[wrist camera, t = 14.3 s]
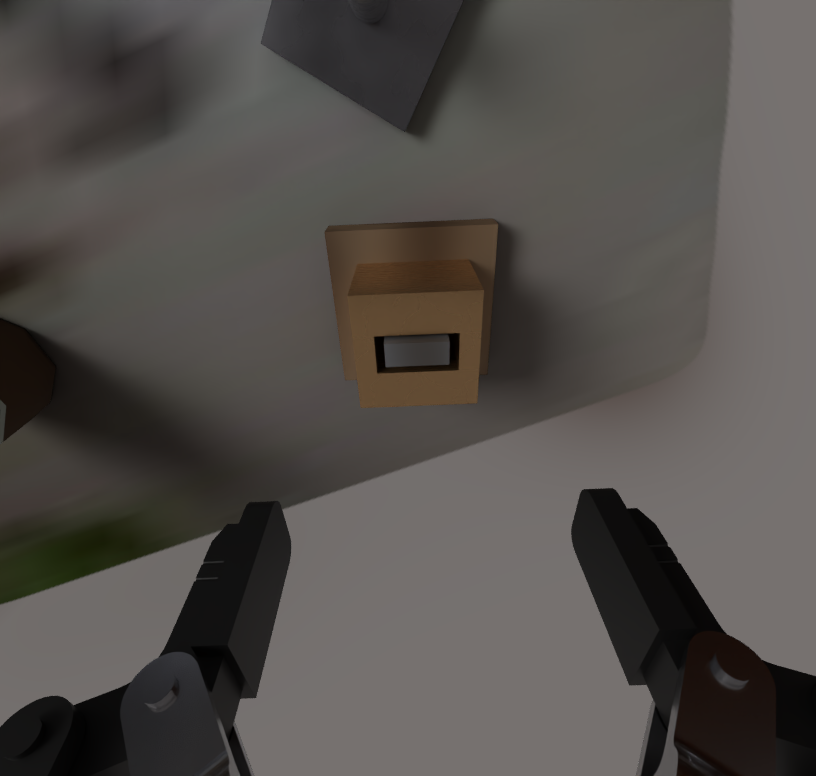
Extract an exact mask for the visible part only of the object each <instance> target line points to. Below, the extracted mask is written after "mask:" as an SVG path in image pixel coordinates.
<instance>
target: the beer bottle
mask: <svg viewBox="0 0 816 776" xmlns="http://www.w3.org/2000/svg"><path fill="white" fill-rule="evenodd" d="M55 370H56V366H55V365H54V364H53V362H52V361H51V360H50V359H49V357H48V356H47V355H46V354H45V353H44V351H43V350H42V349H41V348H40V347H39V345H38V344H37V343H36V342H35V340H34V339H33V338H32V337H31V336H30V334H29V333H28V332H27V331H26V330H25V329H23V328H21V327H18V326H16V325H14V324H11V323H9V322H6V321H4V320H1V319H0V444H1V443H2V442H3V441H5V440H6V439H7V438H8V437H10V436H11V435H12V434H14V433H15V432H16V431H17V430H19V429H20V428H21V427H22V426H24V425H25V424H26V423H27V422H29V421H30V420H31V419H32V418H33V417H35V416H36V415H37V414H38V413H39V412H40V411H41V410H42V409H43V408H44V407H45V406H47V405H48V404H49V403H50V400H51V396H52V390H53V383H54V377H55Z"/></svg>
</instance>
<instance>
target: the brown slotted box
mask: <svg viewBox="0 0 816 776" xmlns="http://www.w3.org/2000/svg"><path fill="white" fill-rule="evenodd" d="M347 298H348V306H349V315H350V323H351V331H352V339H353V348H354V356H355V364H356V373H357V381H358V389H359V397H360V406H361V408H373V407H398V406H422V405H447V404H472V403H477V399H478V382H479V365H480V348H481V331H482V314H483V298H484V289H483V287H482V285H481V283H480V281H479V279H478V277H477V275H476V273H475V271H474V269H473V267H472V265H471V263H470V261H469V259H459V260H436V261H413V262H390V263H367V264H357V266H356V270H355V273H354V276H353V279H352V282H351V286H350V289H349V292H348V295H347ZM445 333H448V337H449V341H450V350H449V365H426V366H402V367H386V365H385V352H384V337H385V336H397V335H421V334H445Z"/></svg>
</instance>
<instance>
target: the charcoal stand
mask: <svg viewBox="0 0 816 776" xmlns="http://www.w3.org/2000/svg"><path fill="white" fill-rule="evenodd" d="M462 2H463V0H272V3H271V6H270V10H269V14H268V18H267V21H266V25H265V29H264V33H263V36H262V40H261V44H262V45H264V46H266V47H267V48H269V49H271V50H272V51H274V52H275V53H277V54H279V55H280V56H282V57H284V58H285V59H287V60H288V61H290V62H292V63H293V64H295V65H297V66H298V67H300V68H301V69H303V70H305V71H306V72H308V73H310V74H311V75H313V76H314V77H316V78H318V79H319V80H321V81H323V82H324V83H326V84H327V85H329V86H331V87H332V88H334V89H336V90H337V91H339V92H340V93H342V94H344V95H345V96H347V97H349V98H350V99H352V100H353V101H355V102H357V103H358V104H360V105H362V106H363V107H365V108H367V109H368V110H370V111H371V112H373V113H375V114H376V115H378V116H380V117H381V118H383V119H384V120H386V121H388V122H389V123H391V124H393V125H394V126H396V127H397V128H399V129H401V130H402V131H404V132H405V130H406V128H407V126H408V124H409V121H410V119H411V117H412V115H413V112H414V110H415V108H416V106H417V103H418V101H419V99H420V97H421V94H422V92H423V90H424V88H425V85H426V83H427V81H428V79H429V76H430V74H431V72H432V70H433V68H434V65H435V63H436V61H437V59H438V56H439V54H440V52H441V50H442V47H443V45H444V43H445V41H446V38H447V36H448V34H449V32H450V29H451V27H452V25H453V23H454V20H455V18H456V16H457V14H458V11H459V9H460V7H461V5H462Z"/></svg>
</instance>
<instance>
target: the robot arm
mask: <svg viewBox="0 0 816 776" xmlns="http://www.w3.org/2000/svg"><path fill="white" fill-rule="evenodd" d="M571 535H572V542H573V547H574V550H575V553H576V555H577V558H578V560H579V563H580V565H581V567H582V570H583V572H584V575H585V577H586V580H587V582H588V584H589V587H590V589H591V592H592V595H593V597H594V599H595V602H596V604H597V607H598V609H599V612H600V614H601V617H602V619H603V622H604V624H605V626H606V629H607V631H608V634H609V636H610V639H611V641H612V644H613V646H614V649H615V651H616V653H617V656H618V658H619V661H620V663H621V666H622V668H623V670H624V673H625V676H626V678H627V681H628V683H629V685H647V686H648V688H649V691H650V693H651V695H652V698H653V701H652V704H651V707H650V712H649V717H648V721H647V726H646V731H645V736H644V740H643V745H642V750H641V754H640V759H639V764H638V768H637V773H636V776H816V676H813V675H809V674H806V673H802V672H798V671H795V670H792V669H788V668H784V667H781V666H777V665H774V664H771V663H768V662H766V661H763V660H761V658H760V657H759V656H758V655H757V654H756V653H755V652H754V651H752V650H751V649H750V648H749V647H748V646H746V645H745V644H743V643H742V642H741V641H739V640H737V639H735V638H734V637H732V636H729V635H727V634H726V633H725V632H724V631H723V629H722V628H721V626H720V625H719V624H718V622H717V621H716V619H715V617H714V616H713V614H712V613H711V611H710V609H709V608H708V606H707V605H706V603H705V602H704V600H703V598H702V597H701V595H700V594H699V592H698V590H697V589H696V587H695V586H694V584H693V583H692V581H691V579H690V578H689V576H688V575H687V573H686V572H685V570H684V569H683V567H682V565H681V564H680V563H678V561H677V557H676V556H675V554H674V553H673V551H672V549H671V548H670V547H668V544H667V542H666V540H665V538H664V537H663V535H662V534H661V532H660V531H659V529H658V528H657V526H656V524H655V523H654V522H652V521H651V520H650V519H649V518H648V517H647V516H645V515H644V514H643V513H642V512H641V511H640V510H639V509H637V508H631V509H627V508H626V506H625V504H624V503H623V501H622V499H621V497H620V496H619V494H618V493H617V492H616V490H614V489H613V488H606V489H584V490H582V491H581V493H580V497H579V501H578V504H577V508H576V512H575V516H574V520H573V524H572V529H571ZM290 556H291V539H290V535H289V531H288V528H287V525H286V521H285V518H284V515H283V511H282V508H281V505H280V503H279V502H278V501H270V502H250V503H248V504H247V506H246V507H245V510H244V512H243V515H242V517H241V520H240V522H239V524H227V525H226V526H225V527H224V529H223V530H222V531H221V532H220V533H219V534H218V536H216V538H215V539H214V540H213V541H212V543H211V545H210V547H209V550H208V552H207V554H206V556H205V559H204V563H203V565H201V568H200V570H199V572H198V574H197V577H196V581H195V582H194V583H193V586H192V588H191V590H190V592H189V595H188V597H187V599H186V601H185V604H184V606H183V608H182V610H181V613H180V615H179V617H178V620H177V622H176V624H175V626H174V629H173V631H172V633H171V635H170V638H169V640H168V642H167V644H166V646H165V648H164V650H163V651H162V653H161V654H160V656H159V657H158V658H157V659H155V660H153V661H152V662H150V663H149V664H148V665H146V666H145V667H144V668H143V669H142V670H141V671H140V672H139V673H138V674H137V675H136V676H135V677H134V679H133V680H132V682H130V683H128V684H127V685H125V686H122V687H120V688H118V689H115V690H113V691H110V692H107V693H105V694H102V695H99V696H97V697H95V698H91V699H89V700H86V701H84V702H81V703H78V704H76V705H72V704H71V703H70V702H69V701H68V700H67V699H65V698H63V697H60V696H49V697H44V698H42V699H38V700H36V701H34V702H32V703H30V704H29V705H27V706H25V707H24V708H22V709H20V710H19V711H18V712H16V713H15V714H14V715H12V716H11V717H10V718H9V719H8V720H7V721H6V722H5V723H4V724H3V725H2V726H1V727H0V776H254V774H253V771H252V768H251V765H250V763H249V760H248V757H247V754H246V752H245V749H244V746H243V743H242V740H241V738H240V735H239V732H238V729H237V727H236V724H235V721H234V719H235V716H236V712H237V708H238V705H239V701H240V699H241V698H256V696H257V692H258V687H259V683H260V679H261V675H262V671H263V667H264V663H265V659H266V655H267V651H268V647H269V643H270V639H271V635H272V631H273V626H274V623H275V619H276V615H277V611H278V607H279V602H280V598H281V594H282V590H283V586H284V582H285V578H286V574H287V570H288V566H289V562H290Z"/></svg>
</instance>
